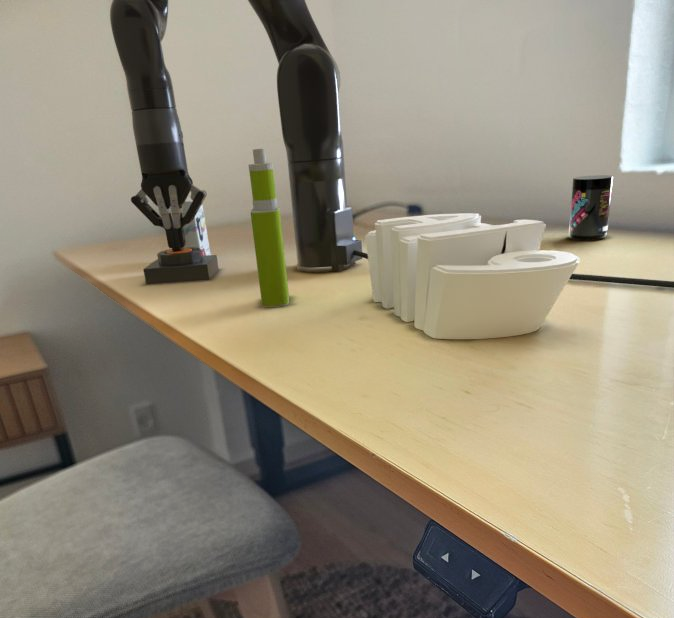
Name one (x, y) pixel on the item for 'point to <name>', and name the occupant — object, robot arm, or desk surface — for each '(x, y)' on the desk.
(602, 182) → the supplement container
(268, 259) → the vape
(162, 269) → the push button base
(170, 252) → the power button
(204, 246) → the ink box
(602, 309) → the desk surface
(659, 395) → the desk surface
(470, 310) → the white wavy slab sculpture
